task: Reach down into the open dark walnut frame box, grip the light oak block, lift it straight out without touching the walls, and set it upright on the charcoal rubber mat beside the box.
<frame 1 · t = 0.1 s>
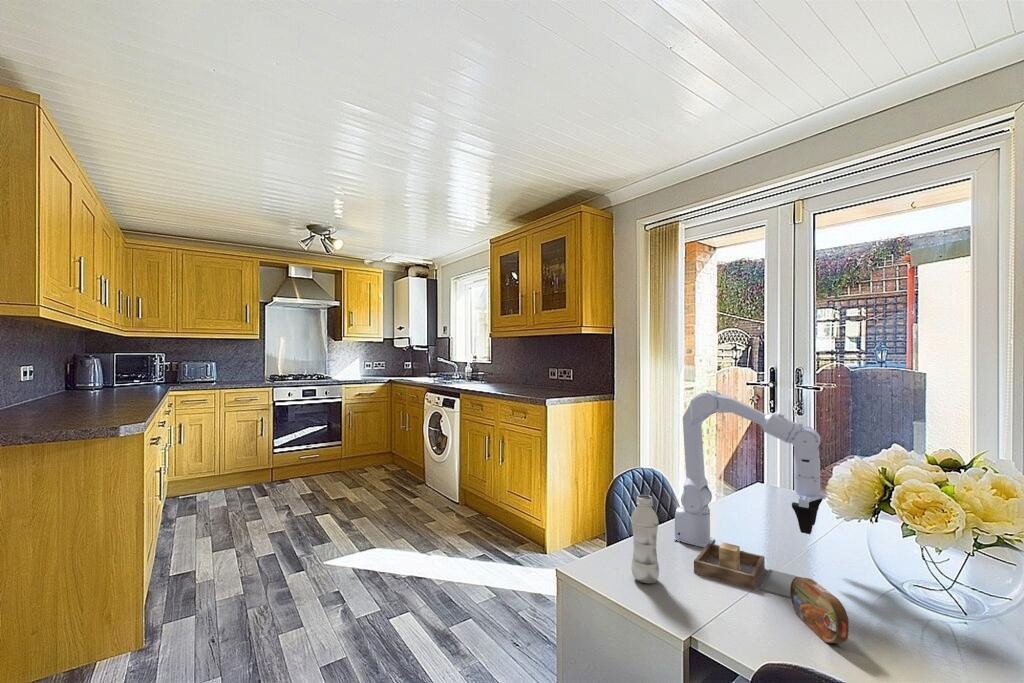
hand: (807, 528, 119), 10 cm above the table, tool pointing down, fingers open, 7 cm apart
frame box: (729, 570, 117), on the table
mat: (784, 584, 110), on the table
plastic bottle: (645, 581, 112), on the table
oak block: (729, 558, 117), in the frame box
tin: (818, 630, 92), on the table
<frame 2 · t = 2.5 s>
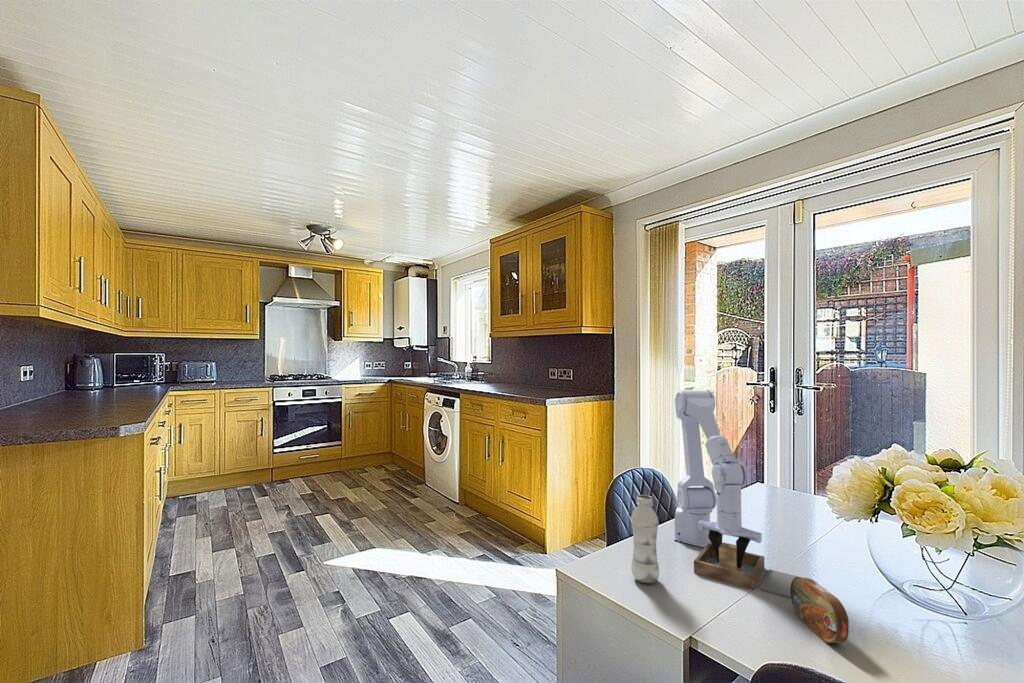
hand: (729, 564, 117), 2 cm above the table, tool pointing down, fingers closed on oak block, 4 cm apart
oak block: (729, 558, 117), in the frame box, touching gripper
everything else where it was.
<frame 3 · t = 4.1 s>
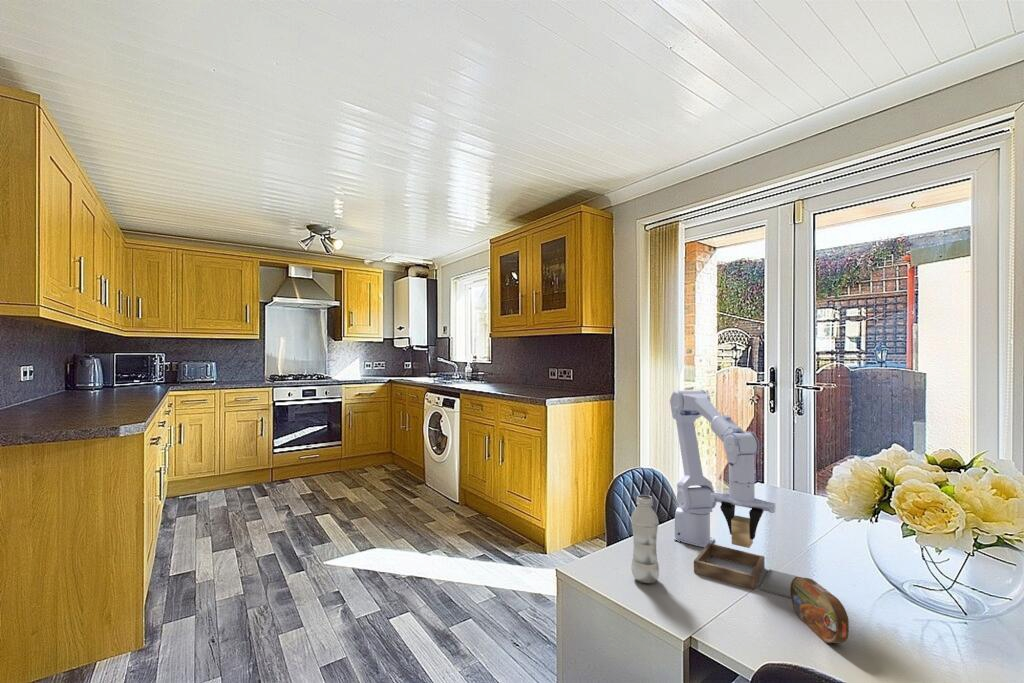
hand: (742, 535, 115), 9 cm above the table, tool pointing down, fingers closed on oak block, 4 cm apart
oak block: (742, 531, 115), point 11 cm above the table, touching gripper
everything else where it was.
when the fingers open (3 cm above the table, at t = 6.1 s): oak block drops 1 cm, resting on mat.
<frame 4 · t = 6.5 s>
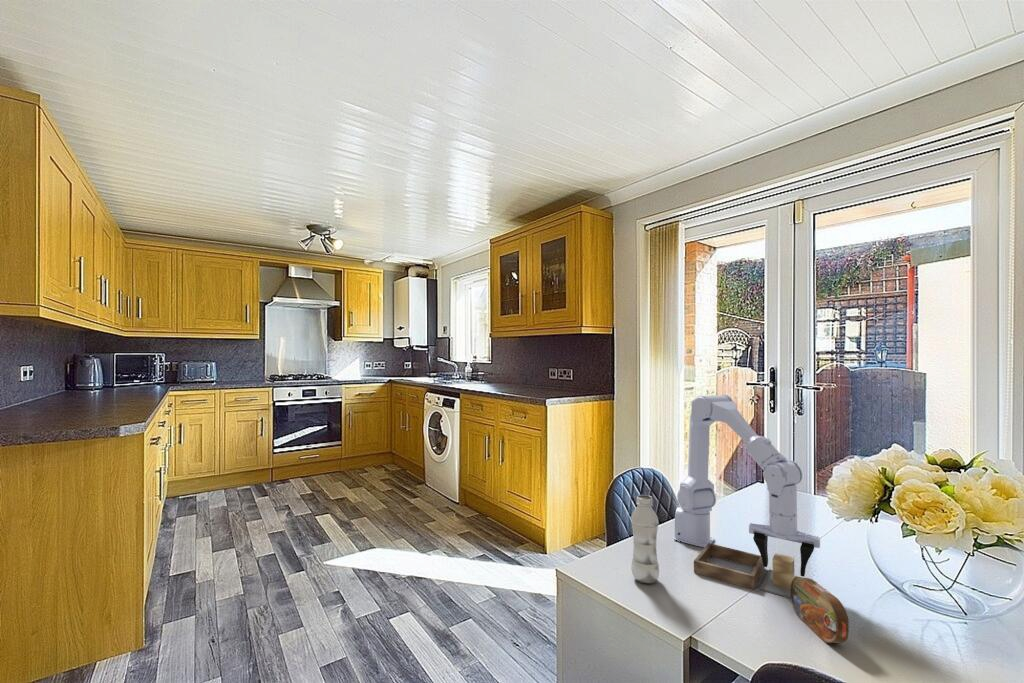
hand: (783, 570, 110), 4 cm above the table, tool pointing down, fingers open, 7 cm apart
oak block: (783, 570, 110), on the mat
everything else where it was.
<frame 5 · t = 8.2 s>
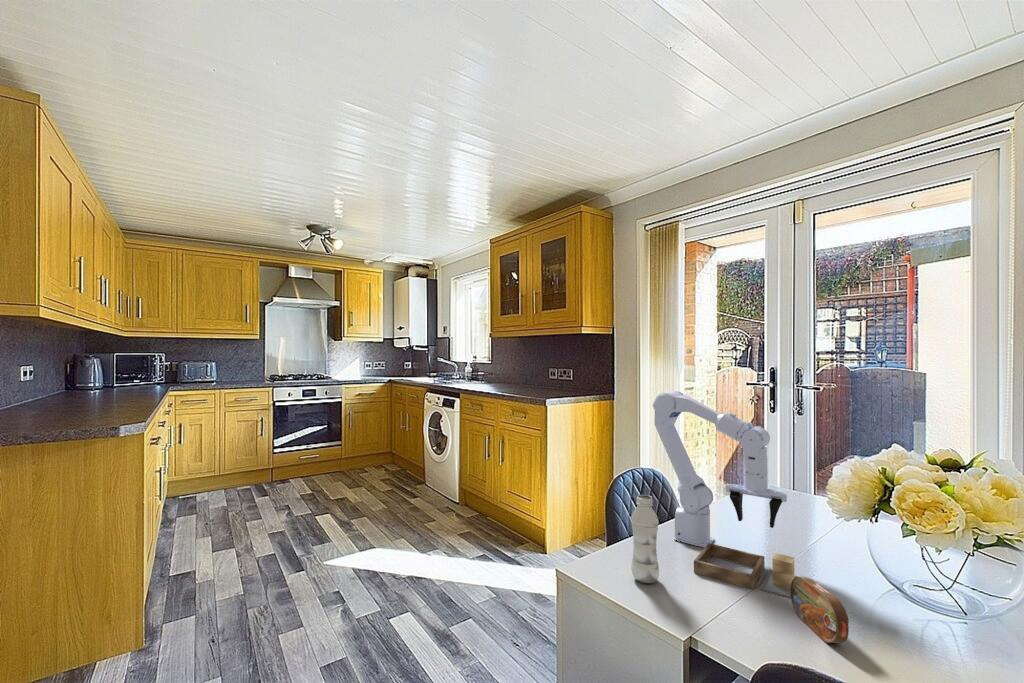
hand: (755, 523, 124), 9 cm above the table, tool pointing down, fingers open, 7 cm apart
nothing on the table moved.
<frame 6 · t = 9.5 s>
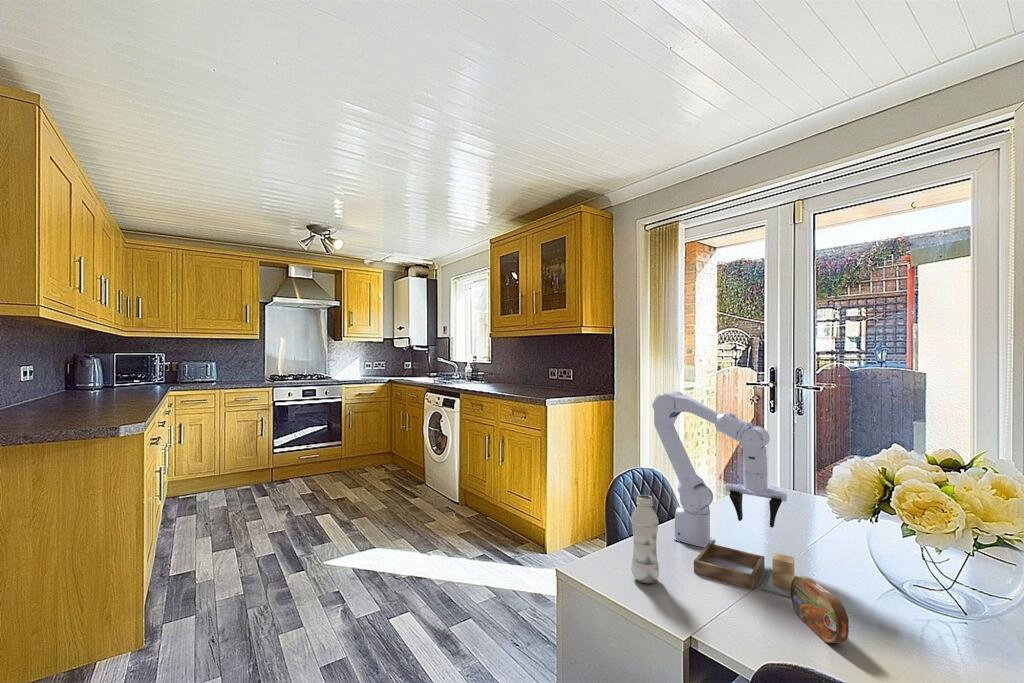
hand: (755, 522, 124), 9 cm above the table, tool pointing down, fingers open, 7 cm apart
nothing on the table moved.
at the end: oak block inside the target area on the mat (0.3 cm from its centre), point 3.4 cm above the mat's base; oak block tilted 0°; the gripper is holding nothing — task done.
